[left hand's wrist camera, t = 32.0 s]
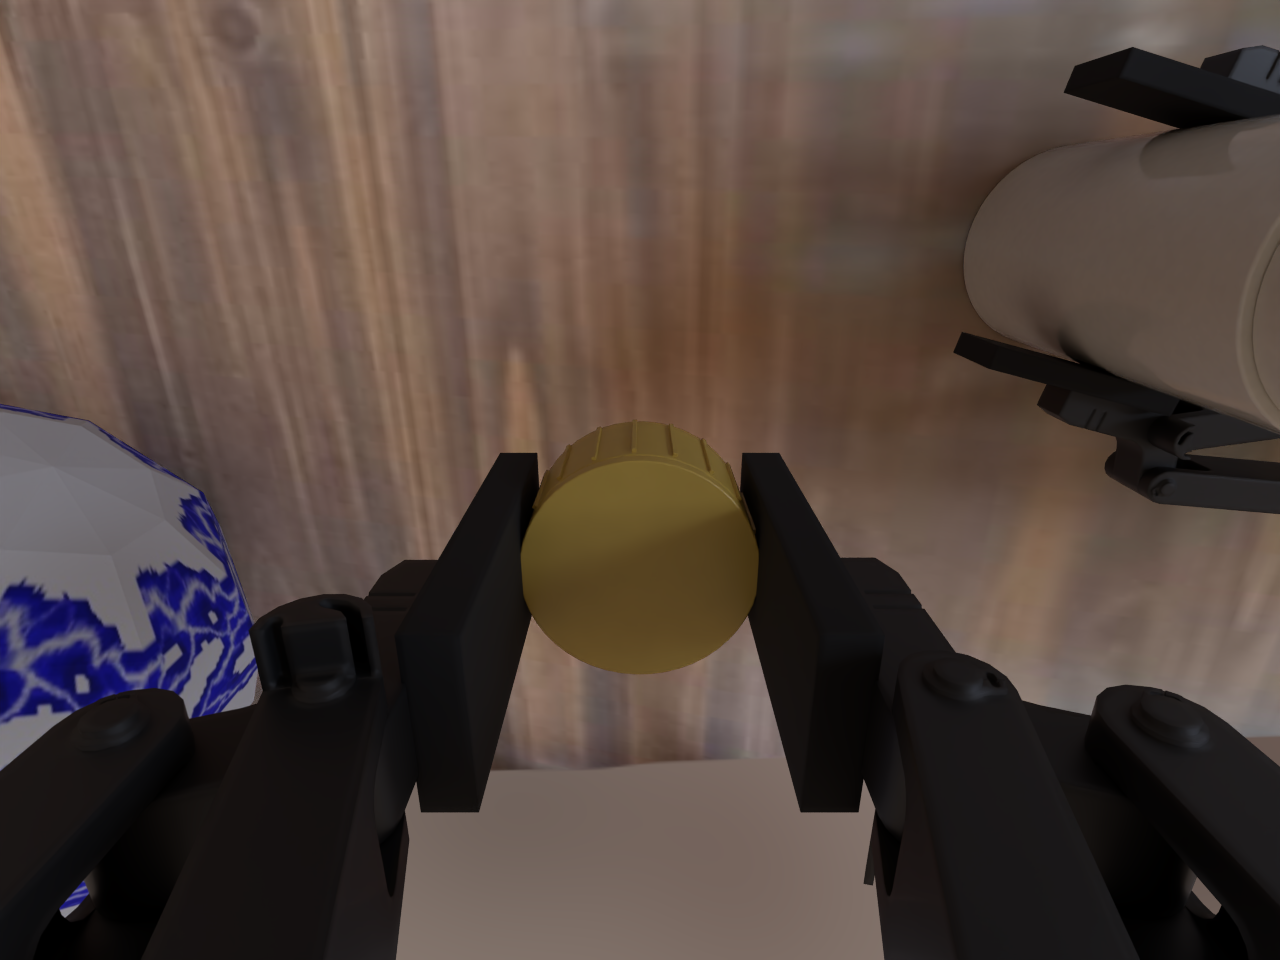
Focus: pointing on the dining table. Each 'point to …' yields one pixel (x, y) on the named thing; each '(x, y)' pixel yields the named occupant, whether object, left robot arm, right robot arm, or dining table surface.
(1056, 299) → the bottle
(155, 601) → the ornament
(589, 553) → the cap
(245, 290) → the dining table surface
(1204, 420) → the right robot arm
